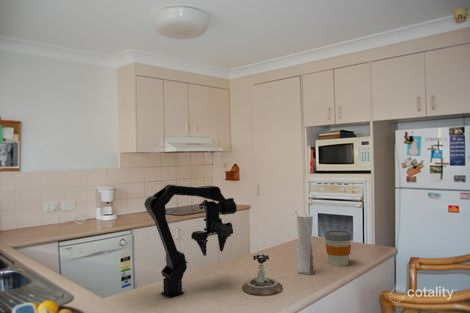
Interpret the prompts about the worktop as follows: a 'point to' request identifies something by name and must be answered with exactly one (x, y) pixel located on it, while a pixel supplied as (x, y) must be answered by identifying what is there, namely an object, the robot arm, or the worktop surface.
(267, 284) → the valve
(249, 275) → the worktop surface
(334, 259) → the reusable coffee cup
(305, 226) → the skyscraper
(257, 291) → the collar base
